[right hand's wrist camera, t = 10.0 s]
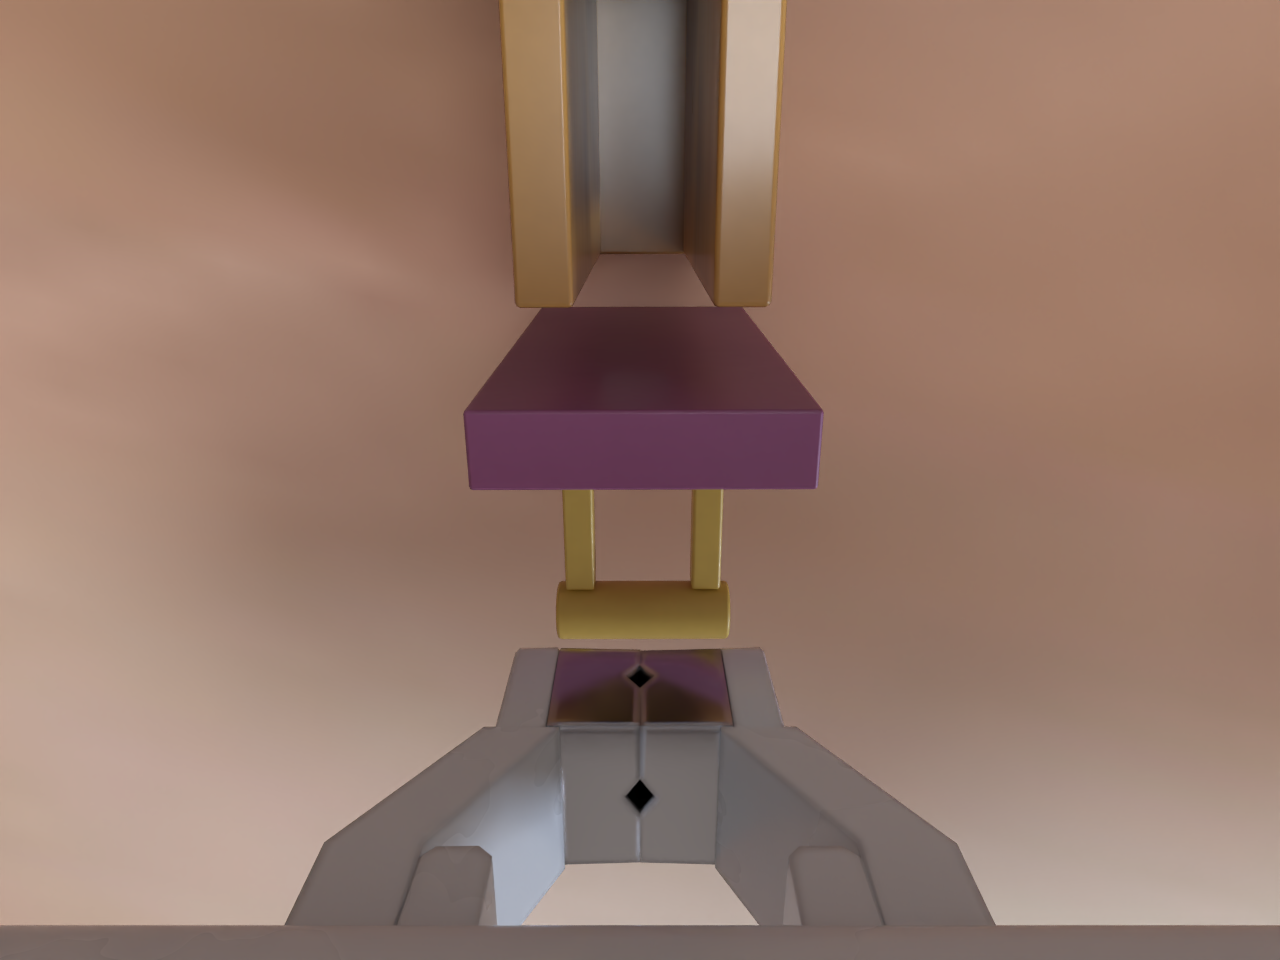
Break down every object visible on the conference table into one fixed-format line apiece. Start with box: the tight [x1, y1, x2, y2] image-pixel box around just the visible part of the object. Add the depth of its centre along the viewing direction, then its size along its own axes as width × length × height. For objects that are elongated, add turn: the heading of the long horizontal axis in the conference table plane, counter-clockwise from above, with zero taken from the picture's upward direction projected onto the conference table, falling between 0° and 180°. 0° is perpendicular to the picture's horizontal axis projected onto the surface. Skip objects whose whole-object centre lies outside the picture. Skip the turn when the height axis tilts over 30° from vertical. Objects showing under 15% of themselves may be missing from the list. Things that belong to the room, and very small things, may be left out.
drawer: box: [463, 0, 824, 639], centre depth 14 cm, size 23×5×10 cm, turn 0°
